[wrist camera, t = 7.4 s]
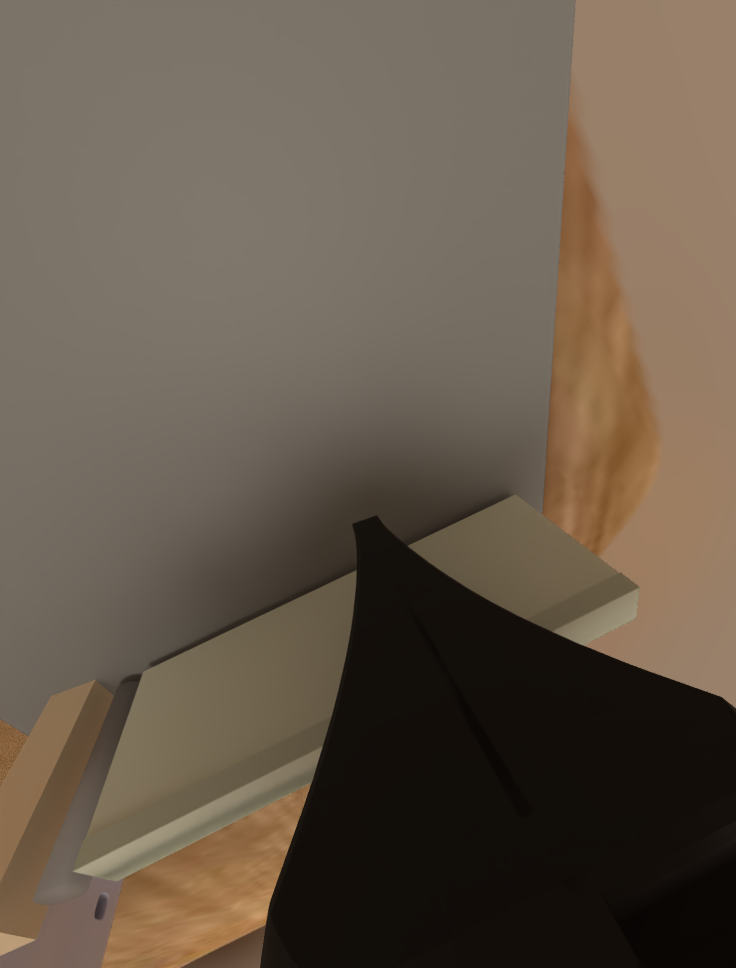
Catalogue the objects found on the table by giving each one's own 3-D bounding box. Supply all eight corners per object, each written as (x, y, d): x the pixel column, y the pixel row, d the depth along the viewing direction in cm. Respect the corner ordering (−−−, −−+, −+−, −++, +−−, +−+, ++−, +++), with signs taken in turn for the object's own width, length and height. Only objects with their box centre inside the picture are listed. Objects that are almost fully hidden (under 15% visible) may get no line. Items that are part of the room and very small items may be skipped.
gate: (133, 705, 12) (63, 908, 8) (105, 688, 11) (13, 900, 7) (518, 520, 12) (635, 619, 8) (515, 493, 12) (639, 586, 8)
